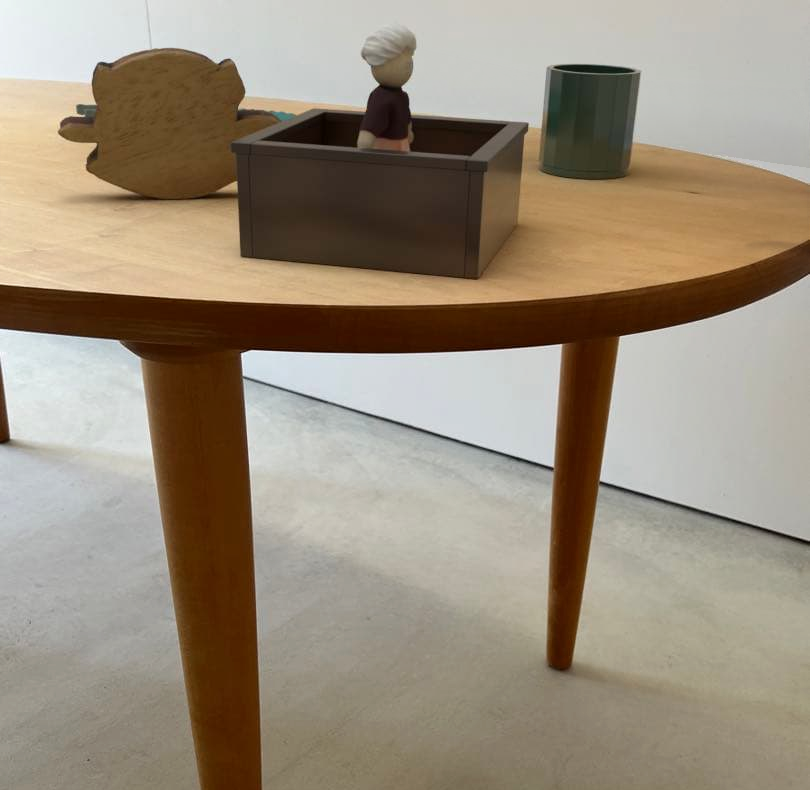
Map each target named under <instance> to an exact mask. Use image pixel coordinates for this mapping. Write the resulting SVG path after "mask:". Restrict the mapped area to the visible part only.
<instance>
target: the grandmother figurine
mask: <svg viewBox="0 0 810 790" xmlns="http://www.w3.org/2000/svg"><path fill="white" fill-rule="evenodd" d="M417 48H418V47H417V38H416V34H415V33H413V32H412V31H411V30H410V29H409V28H408V27H407V26H406V25H401V24H399V23H396V22H388V23H386V24H383V25H382V26H380V27H379V28H377V29H376V30H375V31H373V32H371V34H369V35H368V36H367V37H366V39H365V42H364V44H363V47H362V48H361V50H360V56H361V58H362V59H363V60H364V61H365V63H367V65H368V66H370V72H371V75H372V77H373V79H374V80H375V81H376V83H378V85H377V86H376V87H375V88H373V90H372V91H371V92H370V93H369V95H368V98H367V101H366V102H367V103H366V109H365V111H364V112H365V115H364V118H363V121H362V123H361V126H360V130H359V132H360V134H359V138H358V142H357V146H358V148H367V149H381V150H394V151H408V152H410V147H409V144H410V143H412V141H413V133H412V131H411V128H412V124H411V115H412V112H411V108H410V97H409V96H410V95H409V94H408V93H407V91H404V90H403V88H402V87H403V86H404V85H406V84H407V83H408V82H409V80H410V79H411V77H412V75H413V71H414V59H413V56H414V54H415V51H416V50H417Z"/></svg>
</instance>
